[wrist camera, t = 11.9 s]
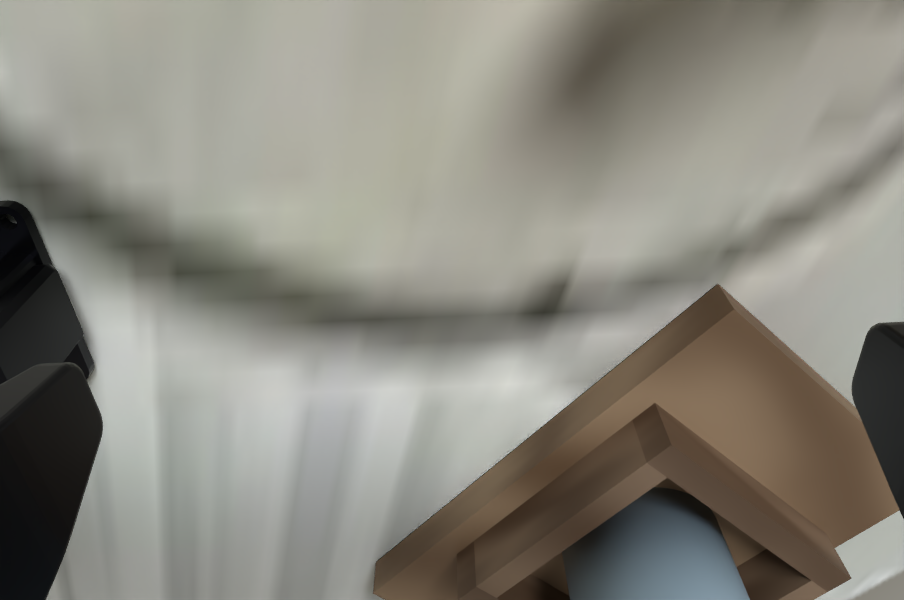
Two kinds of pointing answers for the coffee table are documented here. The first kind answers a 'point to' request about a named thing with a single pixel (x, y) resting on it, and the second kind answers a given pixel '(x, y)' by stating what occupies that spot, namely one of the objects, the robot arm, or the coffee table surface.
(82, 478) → the robot arm
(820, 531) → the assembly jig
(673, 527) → the blue grey domed cylinder
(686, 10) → the coffee table surface
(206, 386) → the coffee table surface
